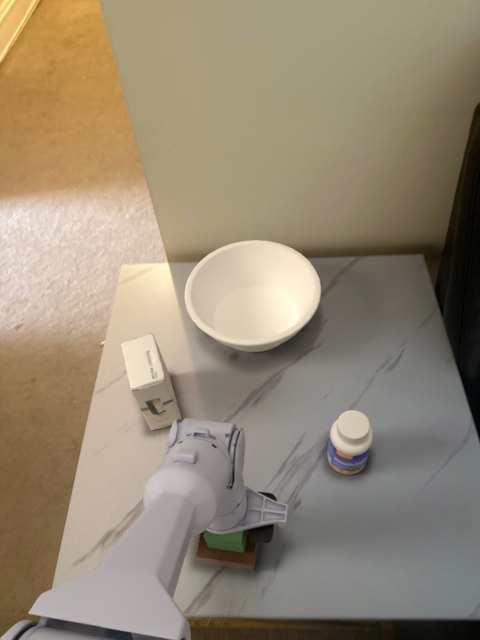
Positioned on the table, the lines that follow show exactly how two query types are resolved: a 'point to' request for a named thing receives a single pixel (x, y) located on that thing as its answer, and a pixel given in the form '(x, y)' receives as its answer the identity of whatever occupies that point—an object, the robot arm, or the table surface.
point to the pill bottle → (349, 442)
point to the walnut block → (228, 555)
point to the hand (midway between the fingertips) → (228, 530)
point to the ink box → (150, 381)
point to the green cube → (227, 540)
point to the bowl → (253, 294)
